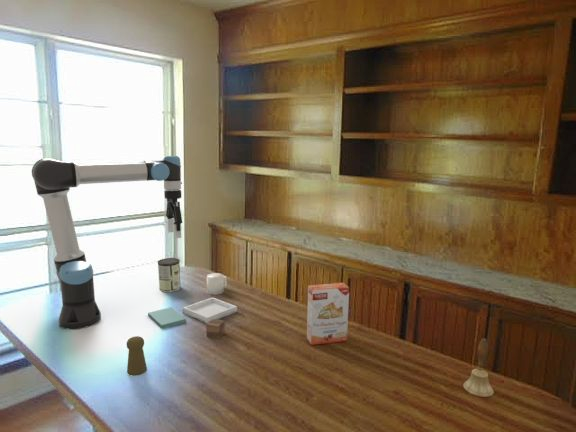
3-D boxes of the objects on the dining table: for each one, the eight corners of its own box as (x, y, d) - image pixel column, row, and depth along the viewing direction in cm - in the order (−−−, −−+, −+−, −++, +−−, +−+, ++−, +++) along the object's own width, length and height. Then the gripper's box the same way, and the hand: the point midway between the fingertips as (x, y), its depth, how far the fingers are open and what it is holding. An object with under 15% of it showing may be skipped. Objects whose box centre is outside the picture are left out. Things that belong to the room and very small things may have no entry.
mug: (214, 295, 201) (214, 279, 200) (203, 291, 207) (203, 275, 205) (230, 290, 209) (229, 274, 207) (219, 286, 214) (218, 271, 213)
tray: (207, 323, 171) (207, 317, 170) (183, 313, 181) (182, 307, 181) (237, 311, 183) (236, 306, 182) (212, 302, 193) (212, 297, 193)
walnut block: (218, 338, 158) (218, 326, 158) (206, 336, 160) (206, 324, 159) (225, 333, 163) (224, 320, 162) (213, 331, 165) (213, 318, 164)
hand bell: (485, 381, 132) (489, 332, 129) (499, 397, 124) (504, 345, 121) (458, 381, 131) (462, 332, 129) (470, 397, 123) (475, 345, 120)
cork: (140, 363, 140) (138, 332, 138) (150, 370, 137) (149, 337, 135) (123, 371, 136) (121, 338, 134) (133, 378, 132) (131, 344, 130)
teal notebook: (161, 330, 166) (161, 325, 166) (148, 317, 178) (147, 312, 178) (185, 323, 172) (185, 318, 172) (171, 311, 184) (171, 307, 184)
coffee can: (163, 284, 216) (162, 257, 214) (183, 285, 215) (182, 258, 213) (155, 291, 206) (154, 263, 204) (176, 292, 205) (175, 264, 203)
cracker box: (311, 346, 153) (312, 290, 149) (306, 338, 159) (307, 284, 155) (348, 341, 157) (349, 286, 153) (341, 334, 162) (343, 281, 159)
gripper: (188, 192, 189) (189, 239, 193) (174, 186, 210) (175, 229, 214) (171, 193, 185) (172, 241, 189) (158, 187, 207) (160, 230, 211)
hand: (174, 234), depth 202 cm, fingers open, 13 cm apart
